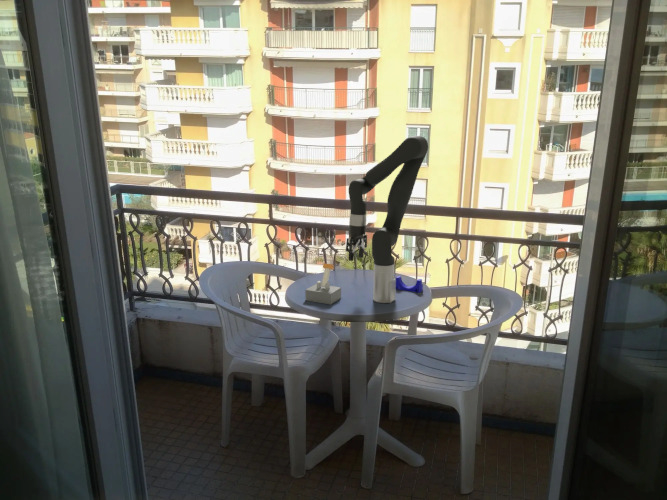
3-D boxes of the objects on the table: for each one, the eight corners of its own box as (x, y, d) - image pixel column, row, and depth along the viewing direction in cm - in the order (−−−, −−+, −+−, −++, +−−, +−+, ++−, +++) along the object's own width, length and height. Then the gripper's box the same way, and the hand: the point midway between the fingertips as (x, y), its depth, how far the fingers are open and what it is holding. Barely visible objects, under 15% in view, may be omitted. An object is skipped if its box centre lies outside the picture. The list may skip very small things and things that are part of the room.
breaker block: (341, 298, 272) (341, 281, 270) (331, 304, 263) (331, 287, 261) (316, 294, 277) (315, 277, 275) (305, 300, 269) (305, 283, 267)
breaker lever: (329, 287, 269) (334, 265, 272) (327, 286, 267) (332, 264, 270) (320, 286, 271) (325, 264, 274) (318, 285, 269) (323, 263, 271)
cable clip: (422, 290, 283) (423, 278, 281) (419, 293, 279) (419, 280, 278) (399, 286, 288) (399, 275, 287) (395, 289, 285) (395, 277, 283)
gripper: (356, 227, 258) (354, 263, 262) (372, 223, 270) (371, 257, 274) (342, 224, 263) (340, 260, 266) (358, 220, 274) (357, 255, 278)
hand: (356, 258), depth 270 cm, fingers open, 8 cm apart
